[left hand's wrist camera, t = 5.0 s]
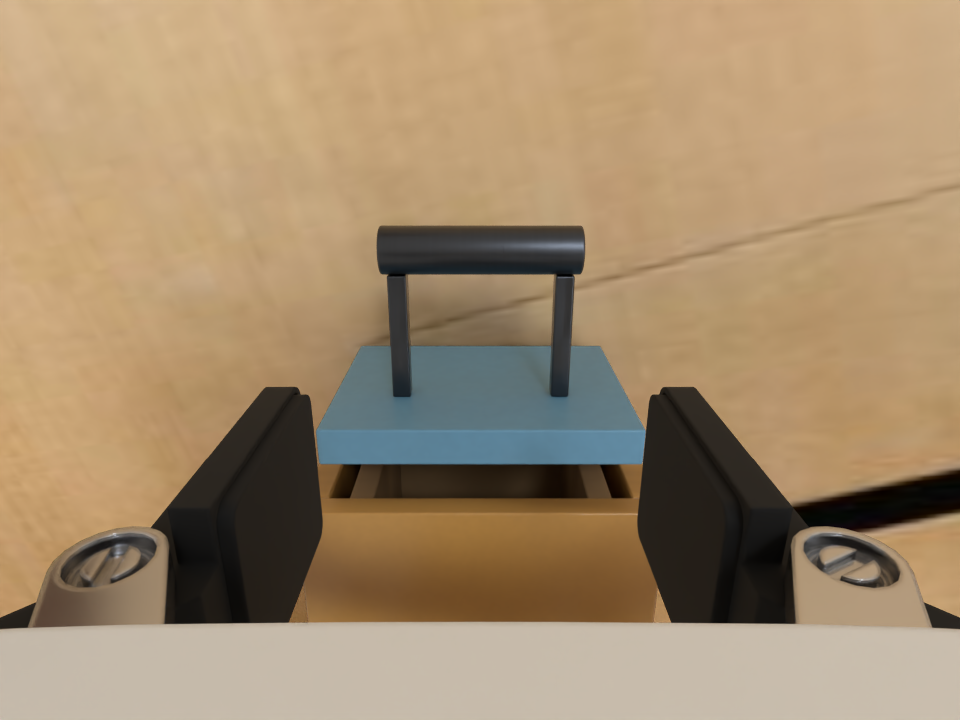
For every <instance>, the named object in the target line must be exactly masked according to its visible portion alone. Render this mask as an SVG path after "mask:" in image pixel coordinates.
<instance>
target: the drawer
mask: <svg viewBox="0 0 960 720" xmlns="http://www.w3.org/2000/svg"><path fill="white" fill-rule="evenodd" d="M584 259H585V234H584V229H583V227H582V226H380V227H379V229H378V233H377V261H378V268H379V271H380V273H381V274H388V276H387V288H388V307H389V327H390V346H361V348H360V350H359V351H358V353H357V355H356V357H355V359H354V361H353V363H352V365H351V366H350V368H349V370H348V372H347V374H346V376H345V378H344V380H343V381H342V383H341V385H340V387H339V389H338V391H337V393H336V395H335V396H334V398H333V400H332V402H331V404H330V406H329V408H328V410H327V411H326V413H325V415H324V417H323V419H322V421H321V423H320V424H319V426H318V428H317V430H316V436H317V446H318V455H319V463H320V464H362V465H361V468H360V471H359V473H358V476H357V479H356V482H355V485H354V488H353V491H352V494H351V496H350V498H611V495H610V492H609V489H608V486H607V483H606V480H605V478H604V475H603V472H602V469H601V466H600V464H642V462H643V453H644V443H645V433H646V431H645V429H644V427H643V425H642V423H641V421H640V420H639V418H638V416H637V414H636V412H635V410H634V408H633V407H632V405H631V403H630V401H629V399H628V397H627V395H626V394H625V392H624V390H623V388H622V386H621V384H620V382H619V381H618V379H617V377H616V375H615V373H614V371H613V369H612V367H611V366H610V364H609V362H608V360H607V358H606V356H605V354H604V353H603V351H602V349H601V347H600V346H571V338H572V319H573V300H574V281H575V277H574V275H573V274H581V273H582V271H583V267H584ZM408 274H554V288H553V312H552V336H551V346H411V343H410V318H409V293H408Z"/></svg>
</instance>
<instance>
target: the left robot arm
mask: <svg viewBox="0 0 960 720" xmlns="http://www.w3.org/2000/svg"><path fill="white" fill-rule="evenodd" d="M637 528H638V535H639V539H640V542H641V544H642V547H643V550H644V552H645V555H646V557H647V560H648V563H649V565H650V568H651V571H652V573H653V576H654V578H655V581H656V584H657V586H658V589H659V591H660V594H661V597H662V599H663V602H664V604H665V607H666V610H667V612H668V615H669V618H670V620H671V623H621V622H318V623H289V620H290V618H291V615H292V612H293V610H294V607H295V604H296V602H297V599H298V597H299V594H300V591H301V589H302V586H303V584H304V581H305V578H306V576H307V573H308V571H309V568H310V565H311V563H312V560H313V557H314V555H315V552H316V550H317V547H318V544H319V542H320V539H321V535H322V529H323V516H322V506H321V496H320V487H319V477H318V467H317V457H316V448H315V438H314V428H313V418H312V409H311V401H310V397H309V396H308V395H301V394H300V391H299V389H298V388H297V387H266V388H264V389H263V391H262V392H261V393H260V394H259V396H258V397H257V398H256V399H255V401H254V402H253V403H252V404H251V405H250V407H249V408H248V409H247V410H246V412H245V413H244V414H243V415H242V417H241V418H240V419H239V420H238V421H237V423H236V424H235V425H234V426H233V428H232V429H231V430H230V431H229V433H228V434H227V435H226V436H225V438H224V439H223V440H222V441H221V442H220V444H219V445H218V446H217V447H216V449H215V450H214V451H213V452H212V454H211V455H210V456H209V457H208V458H207V459H206V460H205V462H204V463H203V464H202V465H201V467H200V468H199V469H198V470H197V471H196V473H195V474H194V475H193V476H192V478H191V479H190V480H189V481H188V483H187V484H186V485H185V486H184V487H183V489H182V490H181V491H180V492H179V494H178V495H177V496H176V497H175V499H174V500H173V501H172V502H171V503H170V505H169V506H168V507H167V508H166V510H165V511H164V512H163V513H162V515H161V516H160V517H159V518H158V519H157V521H156V522H155V523H154V524H153V526H152V527H151V528H149V527H134V526H133V527H125V528H117V529H113V530H109V531H106V532H102V533H98V534H96V535H93V536H91V537H89V538H86V539H84V540H82V541H80V542H78V543H76V544H75V545H73V546H72V547H70V548H68V549H67V550H65V551H64V552H63V553H62V554H61V555H60V556H58V557H57V558H56V559H55V560H54V561H53V562H52V564H51V566H50V567H49V569H48V571H47V572H46V575H45V578H44V581H43V584H42V587H41V590H40V593H39V596H38V599H37V602H36V603H34V604H31V605H29V606H27V607H24V608H22V609H20V610H17V611H15V612H13V613H10V614H8V615H6V616H3V617H1V618H0V720H960V618H959V617H957V616H954V615H952V614H950V613H947V612H945V611H943V610H940V609H938V608H936V607H933V606H931V605H929V604H926V603H924V602H923V599H922V596H921V593H920V590H919V587H918V584H917V581H916V578H915V575H914V572H913V571H912V569H911V567H910V566H909V564H908V562H907V561H906V560H905V559H904V558H903V557H902V556H900V555H899V554H898V553H897V552H896V551H895V550H893V549H892V548H890V547H888V546H887V545H885V544H884V543H882V542H880V541H878V540H876V539H874V538H871V537H869V536H867V535H864V534H862V533H858V532H854V531H851V530H847V529H843V528H835V527H827V526H826V527H811V528H809V527H808V526H807V524H806V523H805V522H804V521H803V519H802V518H801V517H800V516H799V515H798V513H797V512H796V511H795V510H794V508H793V507H792V506H791V505H790V503H789V502H788V501H787V500H786V499H785V497H784V496H783V495H782V494H781V492H780V491H779V490H778V489H777V487H776V486H775V485H774V484H773V483H772V481H771V480H770V479H769V478H768V476H767V475H766V474H765V473H764V471H763V470H762V469H761V468H760V467H759V465H758V464H757V463H756V462H755V460H754V459H753V458H752V457H751V456H750V455H749V454H748V452H747V451H746V450H745V449H744V447H743V446H742V445H741V444H740V442H739V441H738V440H737V439H736V438H735V436H734V435H733V434H732V433H731V431H730V430H729V429H728V428H727V426H726V425H725V424H724V423H723V421H722V420H721V419H720V418H719V417H718V415H717V414H716V413H715V412H714V410H713V409H712V408H711V407H710V405H709V404H708V403H707V402H706V401H705V399H704V398H703V397H702V396H701V394H700V393H699V392H698V391H697V389H696V388H694V387H663V388H662V389H661V391H660V394H659V395H652V396H651V397H650V401H649V409H648V419H647V428H646V438H645V448H644V458H643V467H642V477H641V487H640V497H639V506H638V516H637Z"/></svg>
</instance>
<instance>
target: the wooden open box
mask: <svg viewBox="0 0 960 720" xmlns="http://www.w3.org/2000/svg"><path fill="white" fill-rule="evenodd" d="M361 465H362V464H320V463H319V466H318V477H319V487H320V496H321V506H322V516H323V529H322V535H321V539H320V542H319V544H318V547H317V550H316V552H315V555H314V557H313V560H312V563H311V565H310V568H309V571H308V573H307V576H306V578H305V581H304V591H305V600H306V608H307V617H308V623H318V622H621V623H653V622H654V613H655V605H656V597H657V588H658V586H657V584H656V581H655V578H654V576H653V573H652V571H651V568H650V565H649V563H648V560H647V557H646V555H645V552H644V550H643V547H642V544H641V542H640V539H639V535H638V528H637V516H638V506H639V497H640V487H641V477H642V467H643V464H600V466H601V469H602V472H603V475H604V478H605V480H606V483H607V486H608V489H609V492H610V495H611V498H350V496H351V494H352V491H353V488H354V485H355V482H356V479H357V476H358V473H359V471H360V468H361Z"/></svg>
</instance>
